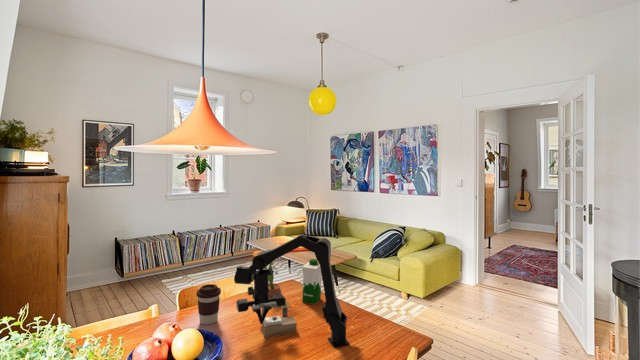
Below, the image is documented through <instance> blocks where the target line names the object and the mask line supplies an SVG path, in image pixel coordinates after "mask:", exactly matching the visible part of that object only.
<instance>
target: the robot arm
mask: <svg viewBox="0 0 640 360" xmlns="http://www.w3.org/2000/svg"><path fill="white" fill-rule="evenodd" d="M300 247H302V248H304V249H305V250H307V251H309V252H312V253H314V256H315V259H316V260H317V263H318V264H320V268H321V281H322V285H323V291H324V297H325V301H324V302H323V304H322V308H321V310H322V312H323V319H324V320H325V322H326V324H328V325H329V327H330V333H331V334H330V337H327V341H328V342H329V344H331V346H332V347H333V348H334V349H335V348H336V349H337V348H341V347H345V346H349V345H350V342H349V341H348V340H347V321H348V317H347V315H346V314H345V313H344V312H343V310H342V306H341V304H340V302H339V299H338V297H337V294H336V287H335V281H334V276H333V271H332V270H333V269H332V264H331V258H332V257H331V255H332V244H331V241H330V240H329V239H327V238H325V237H322V238H320V237H316V236H309V235H307V234H304V233H302V234H301V233H300V234H298V236H295V237H294V238H292V239H290V240H289V241H287V242H285V243H283V244H281V245H279V246H277V247H274V248H272V249H267V250H264V251H261V252H260V253H259V252H258V254H256V255H255V256H254V257H252V261H251V262H252V263H251V265H250V266H242V265H238V266H237V267H236V270H235V274H234V276H233V282H234V283H235V284H237V285H251V284H252V283H253V286H247V295H248V296H252V300H249V301H248V299H247V298H240V299H237V300H236V305H235V306H236V310H237V312H238V313H243V312H247V311H248V310H249V309H250V308H249V307H251V310H252V312H253V313H256V315H257V318H258V321H259V324H260V325H262V324H263V322H264V321H265V318H267V317H266V316H267V315H268V313H269V311H270V310H272V309H273V308H272V307H271V303H276V304H277V305H278V306H284V305H286V301H287V300H286V298H285V296H284V295H283V293H281V294H277V295H273V298H270V299H269V284H270V283H269V275H272V274H273V275H274V274H275V271H274V269H272V270H271V268H270V267H269V265H270V263H272V262H273V263H274V262H275V261H276V260H278V259H277V258H279V257H283V256H284V255H286V254H289V253H291V252H292V251H294V250H296V249H298V248H300ZM275 259H276V260H275ZM274 260H275V261H274ZM265 267H267V269H264V268H265ZM260 305H262V308H260V307H259V306H260Z"/></svg>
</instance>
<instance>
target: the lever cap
mask: <svg viewBox="0 0 640 360" xmlns="http://www.w3.org/2000/svg"><path fill="white" fill-rule="evenodd" d="M281 318H282V317H281V316H280V315H276V316H275V315H274V316H268V317H265V319H264V321H265V323H266V326H273V325H279V324H282V320H281Z"/></svg>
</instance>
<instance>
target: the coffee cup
mask: <svg viewBox="0 0 640 360" xmlns="http://www.w3.org/2000/svg"><path fill="white" fill-rule="evenodd" d="M221 292H222V289H221V287H219V286H217V285H216V284H211V283H209V284H204V285H201V287H200V288H199V289H197V290H196V292H195V293H196V297H197V309H198V314H199V316H198V318H199V323H200V324H201V325H205V326H207V325H212V324H215V323H216V322H217V321H218V320H219V319H218V317H219V309H220V295H221Z"/></svg>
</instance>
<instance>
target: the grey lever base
mask: <svg viewBox="0 0 640 360" xmlns="http://www.w3.org/2000/svg"><path fill="white" fill-rule="evenodd" d="M281 309H282V310H281V311H282V316H281V317H280V318H281V320H282V324H279V325H273V326H266V323H265V320H264V322H263V324H261V333H262V335H263V338H264V339H266V338H267V339H268V338H272V337H277V336H279V337H280V336H284V335H289V334H295V333H296V334H297V333H298V331H297V330H298V328H297V327H298V326H297V325H298V324H297V323H298V322H297V321H296V319H295V318H294V316H288V314H289V313H288V309H289V308H285V309H284V308H281Z"/></svg>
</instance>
